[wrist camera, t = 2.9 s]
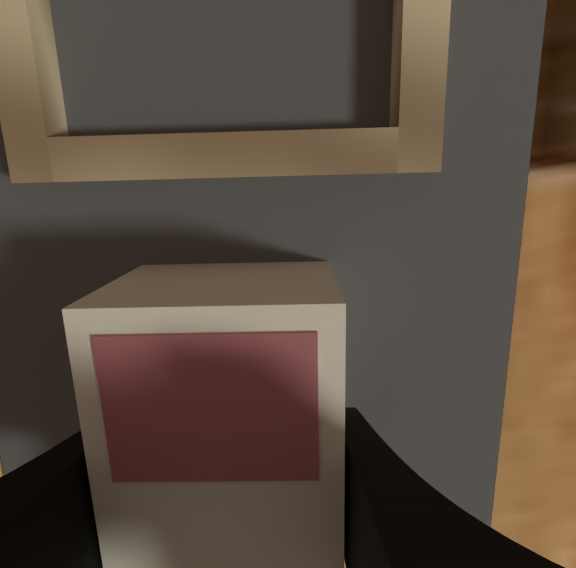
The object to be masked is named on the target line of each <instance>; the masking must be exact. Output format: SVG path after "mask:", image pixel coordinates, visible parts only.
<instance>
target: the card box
mask: <svg viewBox="0 0 576 568" xmlns="http://www.w3.org/2000/svg"><path fill="white" fill-rule="evenodd" d="M62 315H63V321H64V327H65V333H66V340H67V346H68V352H69V358H70V365H71V371H72V377H73V383H74V390H75V396H76V402H77V408H78V415H79V421H80V427H81V433H82V440H83V446H84V452H85V458H86V465H87V471H88V477H89V483H90V490H91V496H92V502H93V508H94V515H95V521H96V527H97V533H98V540H99V546H100V552H101V558H102V565H103V568H344V496H345V368H346V302H345V300H344V297H343V295H342V293H341V290H340V288H339V285H338V283H337V280H336V278H335V276H334V273H333V271H332V268H331V266H330V263H329V261H305V262H258V263H212V264H165V265H141V266H139V267H138V268H136V269H134V270H132V271H130V272H128V273H127V274H125V275H123V276H121V277H119V278H117V279H116V280H114V281H112V282H110V283H108V284H106V285H105V286H103V287H101V288H99V289H97V290H96V291H94V292H92V293H90V294H88V295H86V296H85V297H83V298H81V299H79V300H77V301H75V302H74V303H72V304H70V305H68V306H66V307H64V308H63V309H62Z"/></svg>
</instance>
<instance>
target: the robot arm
mask: <svg viewBox="0 0 576 568" xmlns="http://www.w3.org/2000/svg"><path fill="white" fill-rule="evenodd" d="M344 560H345V564H346V568H565V567H562V566H560V565H558V564H556V563H554V562H552V561H550V560H548V559H546V558H544V557H542V556H540V555H538V554H537V553H535V552H533V551H531V550H529V549H527V548H525V547H524V546H522V545H520V544H518V543H516V542H514V541H513V540H511V539H509V538H507V537H506V536H504V535H502V534H501V533H499V532H497V531H495V530H494V529H492V528H491V527H489V526H488V525H486V524H484V523H483V522H481V521H480V520H478V519H477V518H475V517H474V516H472V515H471V514H469V513H467V512H466V511H464V510H463V509H462V508H460V507H459V506H457V505H456V504H454V503H453V502H452V501H450V500H449V499H448V498H446V497H445V496H444V495H443V494H441V493H440V492H439V491H437V490H436V489H435V488H434V487H432V486H431V485H430V484H428V483H427V482H426V481H425V480H424V479H422V478H421V477H420V476H419V475H418V474H417V473H416V472H415V471H414V470H412V469H411V468H410V467H409V466H408V465H407V464H406V463H405V462H404V461H403V460H402V459H401V458H400V457H399V456H398V455H397V454H396V453H395V452H394V451H393V450H392V449H391V448H390V447H389V445H388V444H387V443H386V442H385V441H384V440H383V439H382V438H381V437H380V436H379V434H378V433H377V432H376V431H375V430H374V429H373V427H372V426H371V425H370V424H369V423H368V421H367V420H366V419H365V418H364V416H363V415H362V414H361V413H360V411H359V410H358V409H357V408H356V407H346V408H345V496H344ZM0 568H103V565H102V558H101V552H100V546H99V540H98V533H97V527H96V521H95V515H94V508H93V502H92V496H91V490H90V483H89V477H88V471H87V465H86V458H85V452H84V446H83V440H82V433H81V430H80V431H79V432H77V433H76V434H74V435H72V436H71V437H69V438H67V439H66V440H64V441H62V442H61V443H59V444H58V445H56V446H54V447H53V448H51V449H49V450H48V451H46V452H44V453H43V454H41V455H39V456H37V457H36V458H34V459H32V460H30V461H29V462H27V463H25V464H23V465H22V466H20V467H18V468H16V469H15V470H13V471H11V472H9V473H8V474H6V475H4V476H2V477H0Z"/></svg>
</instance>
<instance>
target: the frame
mask: <svg viewBox="0 0 576 568" xmlns="http://www.w3.org/2000/svg"><path fill="white" fill-rule="evenodd" d="M450 14H451V0H393V23H392V57H391V90H390V123H389V127H381V128H346V129H311V130H277V131H242V132H207V133H173V134H138V135H103V136H69V135H68V128H67V121H66V114H65V107H64V100H63V93H62V86H61V79H60V71H59V64H58V57H57V50H56V43H55V36H54V29H53V22H52V15H51V8H50V1H49V0H0V122H1V128H2V133H3V139H4V145H5V150H6V156H7V162H8V167H9V173H10V179H11V183H59V182H97V181H135V180H173V179H211V178H249V177H287V176H325V175H364V174H402V173H433V172H441V166H442V149H443V132H444V116H445V99H446V82H447V65H448V48H449V31H450Z"/></svg>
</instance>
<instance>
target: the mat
mask: <svg viewBox="0 0 576 568" xmlns="http://www.w3.org/2000/svg"><path fill="white" fill-rule="evenodd" d="M49 1H50V8H51V15H52V22H53V29H54V36H55V43H56V50H57V57H58V64H59V71H60V79H61V86H62V93H63V100H64V107H65V114H66V121H67V128H68V135H69V136H103V135H138V134H173V133H207V132H242V131H277V130H311V129H346V128H381V127H389V123H390V90H391V57H392V23H393V0H49ZM546 5H547V0H451V14H450V31H449V48H448V65H447V82H446V99H445V116H444V132H443V149H442V166H441V172H433V173H402V174H364V175H325V176H287V177H249V178H211V179H173V180H135V181H97V182H59V183H11V179H10V173H9V167H8V162H7V156H6V150H5V145H4V139H3V133H2V128H1V122H0V457H1V462H2V466H3V471H4V475H6V474H8V473H9V472H11V471H13V470H15V469H16V468H18V467H20V466H22V465H23V464H25V463H27V462H29V461H30V460H32V459H34V458H36V457H37V456H39V455H41V454H43V453H44V452H46V451H48V450H49V449H51V448H53V447H54V446H56V445H58V444H59V443H61V442H62V441H64V440H66V439H67V438H69V437H71V436H72V435H74V434H76V433H77V432H79V431H80V430H81V427H80V421H79V415H78V408H77V402H76V396H75V390H74V383H73V377H72V371H71V365H70V358H69V352H68V346H67V340H66V333H65V327H64V321H63V315H62V309H63V308H64V307H66V306H68V305H70V304H72V303H74V302H75V301H77V300H79V299H81V298H83V297H85V296H86V295H88V294H90V293H92V292H94V291H96V290H97V289H99V288H101V287H103V286H105V285H106V284H108V283H110V282H112V281H114V280H116V279H117V278H119V277H121V276H123V275H125V274H127V273H128V272H130V271H132V270H134V269H136V268H138V267H139V266H141V265H165V264H212V263H258V262H305V261H329V263H330V266H331V268H332V271H333V273H334V276H335V278H336V280H337V283H338V285H339V288H340V290H341V293H342V295H343V297H344V300H345V302H346V368H345V408H346V407H356V408H357V409H358V410H359V411H360V413H361V414H362V415H363V416H364V418H365V419H366V420H367V421H368V423H369V424H370V425H371V426H372V427H373V429H374V430H375V431H376V432H377V433H378V434H379V436H380V437H381V438H382V439H383V440H384V441H385V442H386V443H387V444H388V445H389V447H390V448H391V449H392V450H393V451H394V452H395V453H396V454H397V455H398V456H399V457H400V458H401V459H402V460H403V461H404V462H405V463H406V464H407V465H408V466H409V467H410V468H411V469H412V470H414V471H415V472H416V473H417V474H418V475H419V476H420V477H421V478H422V479H424V480H425V481H426V482H427V483H428V484H430V485H431V486H432V487H434V488H435V489H436V490H437V491H439V492H440V493H441V494H443V495H444V496H445V497H446V498H448V499H449V500H450V501H452V502H453V503H454V504H456V505H457V506H459V507H460V508H462V509H463V510H464V511H466V512H467V513H469V514H471V515H472V516H474V517H475V518H477V519H478V520H480V521H481V522H483V523H484V524H486V525H488V526H489V527H491V519H492V510H493V501H494V491H495V482H496V473H497V463H498V454H499V444H500V435H501V426H502V416H503V407H504V398H505V388H506V379H507V370H508V360H509V351H510V342H511V332H512V323H513V314H514V304H515V295H516V286H517V276H518V267H519V258H520V248H521V239H522V230H523V220H524V211H525V201H526V192H527V183H528V173H529V164H530V155H531V145H532V136H533V127H534V117H535V108H536V99H537V89H538V80H539V71H540V61H541V52H542V43H543V33H544V24H545V15H546Z"/></svg>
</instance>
